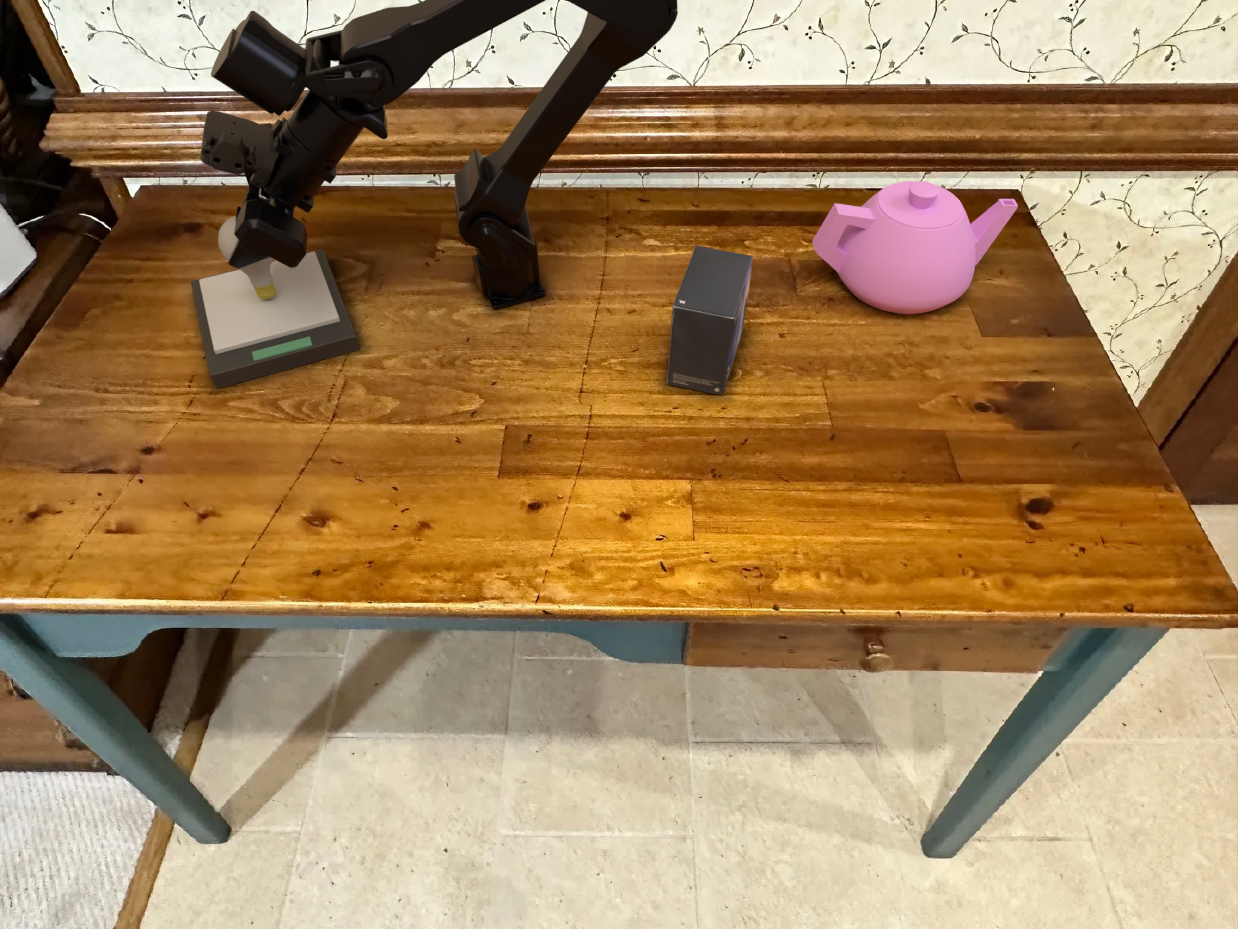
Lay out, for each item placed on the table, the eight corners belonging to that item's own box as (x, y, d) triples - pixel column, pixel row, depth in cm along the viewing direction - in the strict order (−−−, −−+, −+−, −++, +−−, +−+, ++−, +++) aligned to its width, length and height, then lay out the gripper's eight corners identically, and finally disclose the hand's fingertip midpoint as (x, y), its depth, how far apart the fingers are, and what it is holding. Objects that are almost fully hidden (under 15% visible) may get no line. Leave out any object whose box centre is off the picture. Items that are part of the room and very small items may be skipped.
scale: (327, 262, 105) (321, 244, 103) (360, 349, 95) (354, 331, 93) (196, 294, 101) (188, 276, 99) (216, 389, 91) (207, 371, 89)
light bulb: (274, 318, 94) (242, 239, 87) (232, 306, 96) (198, 228, 88) (304, 288, 98) (276, 210, 90) (263, 277, 99) (232, 199, 91)
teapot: (823, 329, 97) (844, 236, 88) (790, 245, 107) (806, 154, 98) (1015, 315, 99) (1055, 222, 90) (965, 234, 109) (996, 143, 100)
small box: (726, 398, 90) (736, 319, 82) (664, 386, 91) (668, 306, 83) (744, 332, 97) (756, 253, 89) (687, 322, 98) (693, 243, 90)
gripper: (242, 42, 85) (169, 158, 93) (223, 139, 74) (141, 264, 81) (344, 111, 92) (269, 214, 99) (343, 210, 80) (257, 320, 88)
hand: (235, 249), depth 92 cm, fingers closed on light bulb, 5 cm apart
